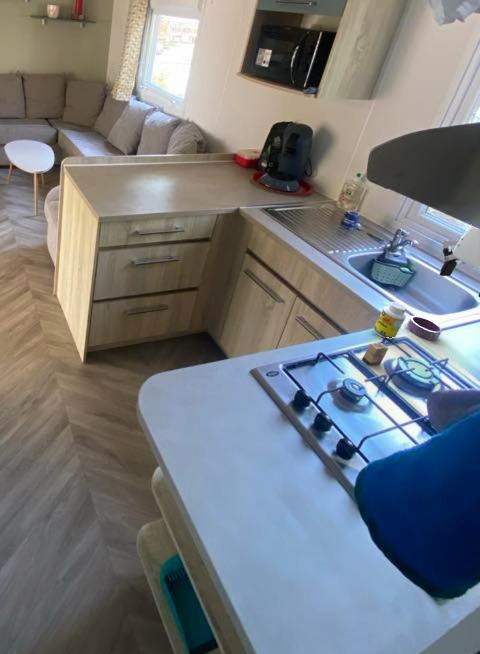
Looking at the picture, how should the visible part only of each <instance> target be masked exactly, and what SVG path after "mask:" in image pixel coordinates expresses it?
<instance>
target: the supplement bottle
mask: <svg viewBox="0 0 480 654" xmlns="http://www.w3.org/2000/svg"><path fill="white" fill-rule="evenodd" d="M406 310H407V307H406V306H404V305H403V304H402V303H399V302H396V301H391V302H390V303H389V305H387V306H384V307H383V309H382V311H381V313H380V315H379V317H378V318H377V321H376V322H375V324H374V326H373V331H374V333H375V334H376V335H377V336H379V337H381V338H383V339H385V337H389V338H392V337H395V338H396V336H397V334H398V333H399V331H400V329H401V327H402V325H403V324H404V322H405V321H406V318H407V315H406V314H405V313H406ZM389 338H387V339H386V340H390V339H389ZM395 338H393V339H392V340H394V339H395Z"/></svg>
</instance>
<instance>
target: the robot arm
mask: <svg viewBox="0 0 480 654" xmlns="http://www.w3.org/2000/svg"><path fill="white" fill-rule="evenodd" d="M453 246H454V248H453ZM442 248H443V249H442V253H443V256H444V258H443V260H444V263H443V264H442V265H441V268H440V272H439V274H438V275H439V276H440V277H451V275H452V274H453V272H454V270H455V268H456V267H457V265H458V262H457V261H461V262H463V263H465V264H467V265H469V266H471V267H473V268H475V269H477V270H479V271H480V229H476V228H474V227H472V226H471V225H470V226H469V227H468V228H467V229H466V231H464V232H463V234H462V235H461V237H460V238H459V239H458V240H451V239H450V240H448V239H446V240H443V241H442ZM452 248H453V249H452ZM477 297H478V298H480V292H479V293H478V295H477Z"/></svg>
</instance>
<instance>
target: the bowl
mask: <svg viewBox="0 0 480 654" xmlns="http://www.w3.org/2000/svg"><path fill="white" fill-rule="evenodd" d="M406 325H407V329H408V330H409V332H411V333H412V334H414V335H415V336H417V337H419V338H422V339H424V340H427V341H436V340H438V339H439V338H440V337H441V334H442V333H443V328H442V327H441V326H440V325H439V324H437V323H436V322H435V321H433V320H431V319H428V318H426V317H423V316H419V315H412V316H410V318H409V320H408V321H407V324H406Z"/></svg>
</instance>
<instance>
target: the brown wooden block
mask: <svg viewBox="0 0 480 654" xmlns="http://www.w3.org/2000/svg"><path fill="white" fill-rule="evenodd" d="M388 350H389V347H388V346H386V345H385V344H384V343H382V342H375V343H369V345H368V347H367V349H366V351H365V353H364V355H363V356H362V358H361V362H363V363H364V364H365V365H366V366H368V367H370V366H371V367H372V366H380V365H382V362H383V360H384V358H385V356H386V354H387V352H388Z"/></svg>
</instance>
